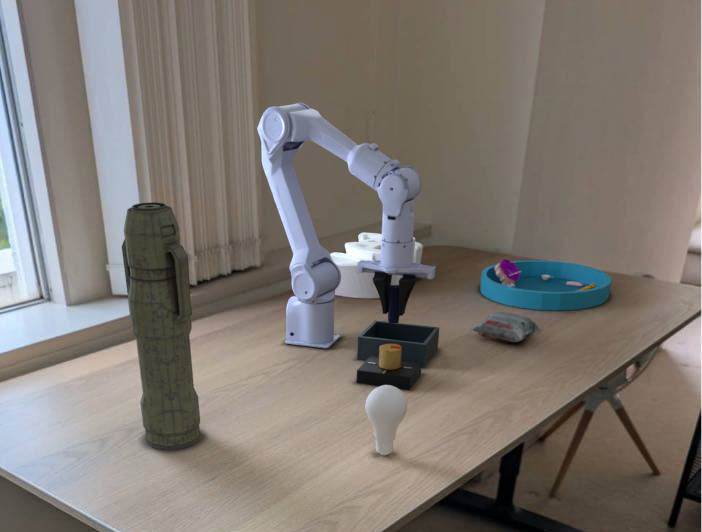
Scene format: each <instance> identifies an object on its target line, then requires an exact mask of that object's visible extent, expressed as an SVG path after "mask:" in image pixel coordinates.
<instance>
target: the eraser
mask: <svg viewBox="0 0 702 532" xmlns="http://www.w3.org/2000/svg"><path fill="white" fill-rule="evenodd" d="M398 309H399V285H390V287H389V304H388V313H387V322H389V323H400V316H399V315H398Z"/></svg>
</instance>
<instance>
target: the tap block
mask: <svg viewBox="0 0 702 532" xmlns="http://www.w3.org/2000/svg"><path fill="white" fill-rule="evenodd" d="M421 367H422V362H417V361H408V360H401V367H400V368H398V369H393V370H388V369H383V368H380V367H379V357H376V356H370V357H369V358H368V359H367V360H366V361H363V363H362V364H361V365H360V366H359V367H358V368H357V369H356V384H362V385H368V386H374V387H375V386H376V387H379V386H383V385H391V386H394V387H396V388H398V389H399V390H406V391H411V389H412V388H413V386H414V385H415V383H416V382H417V381H418V380H419V378H420V377H421V375H422V368H421Z"/></svg>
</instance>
